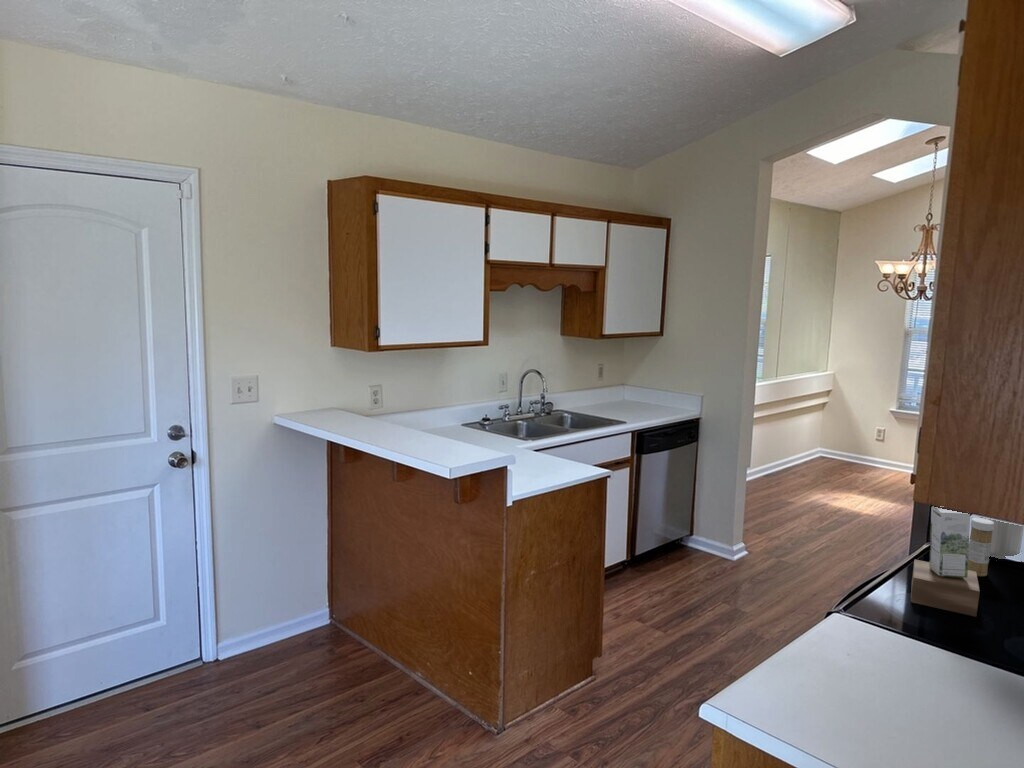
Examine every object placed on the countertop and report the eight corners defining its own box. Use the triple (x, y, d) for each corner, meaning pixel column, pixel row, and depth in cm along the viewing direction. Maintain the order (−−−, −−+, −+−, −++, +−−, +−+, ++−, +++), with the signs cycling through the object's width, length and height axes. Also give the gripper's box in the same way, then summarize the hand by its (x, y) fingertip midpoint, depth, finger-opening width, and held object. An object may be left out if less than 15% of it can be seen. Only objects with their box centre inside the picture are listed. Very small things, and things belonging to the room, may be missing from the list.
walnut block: (911, 583, 160) (914, 559, 159) (972, 596, 154) (976, 571, 153) (910, 603, 150) (913, 577, 149) (976, 618, 144) (979, 591, 143)
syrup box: (957, 569, 153) (959, 505, 152) (968, 578, 147) (970, 512, 146) (928, 568, 154) (930, 504, 153) (939, 577, 149) (941, 511, 148)
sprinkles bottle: (975, 568, 169) (982, 516, 167) (992, 576, 164) (999, 522, 162) (960, 570, 168) (967, 517, 166) (976, 577, 163) (984, 524, 161)
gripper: (1045, 358, 152) (1035, 433, 154) (955, 351, 164) (947, 421, 166) (1040, 360, 147) (1029, 438, 149) (947, 353, 159) (938, 425, 161)
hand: (985, 429), depth 158 cm, fingers open, 9 cm apart
